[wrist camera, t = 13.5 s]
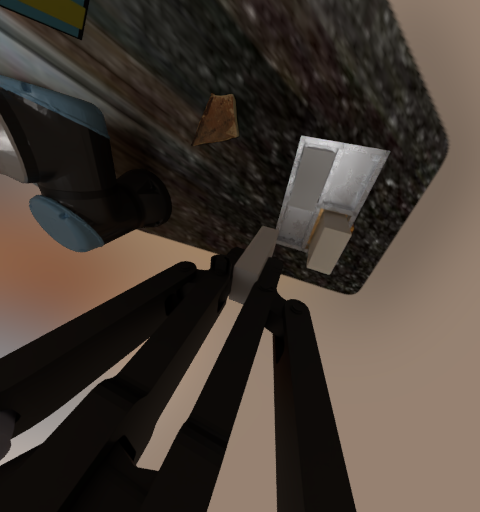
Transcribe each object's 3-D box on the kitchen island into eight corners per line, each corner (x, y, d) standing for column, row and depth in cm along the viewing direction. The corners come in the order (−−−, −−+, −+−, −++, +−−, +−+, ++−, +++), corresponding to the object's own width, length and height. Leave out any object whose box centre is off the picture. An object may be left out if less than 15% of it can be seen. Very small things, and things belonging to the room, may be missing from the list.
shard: (194, 145, 42) (190, 146, 40) (185, 102, 38) (180, 100, 37) (240, 138, 38) (237, 138, 36) (235, 88, 34) (231, 86, 33)
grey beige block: (309, 243, 42) (306, 267, 34) (324, 208, 37) (324, 227, 29) (328, 248, 41) (329, 275, 33) (345, 214, 37) (351, 234, 29)
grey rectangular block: (295, 191, 38) (287, 205, 30) (308, 146, 33) (304, 147, 25) (315, 196, 37) (313, 212, 29) (332, 150, 33) (335, 153, 25)
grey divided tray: (274, 236, 45) (272, 242, 43) (302, 136, 34) (301, 135, 31) (335, 254, 42) (336, 261, 40) (389, 150, 31) (395, 151, 28)
